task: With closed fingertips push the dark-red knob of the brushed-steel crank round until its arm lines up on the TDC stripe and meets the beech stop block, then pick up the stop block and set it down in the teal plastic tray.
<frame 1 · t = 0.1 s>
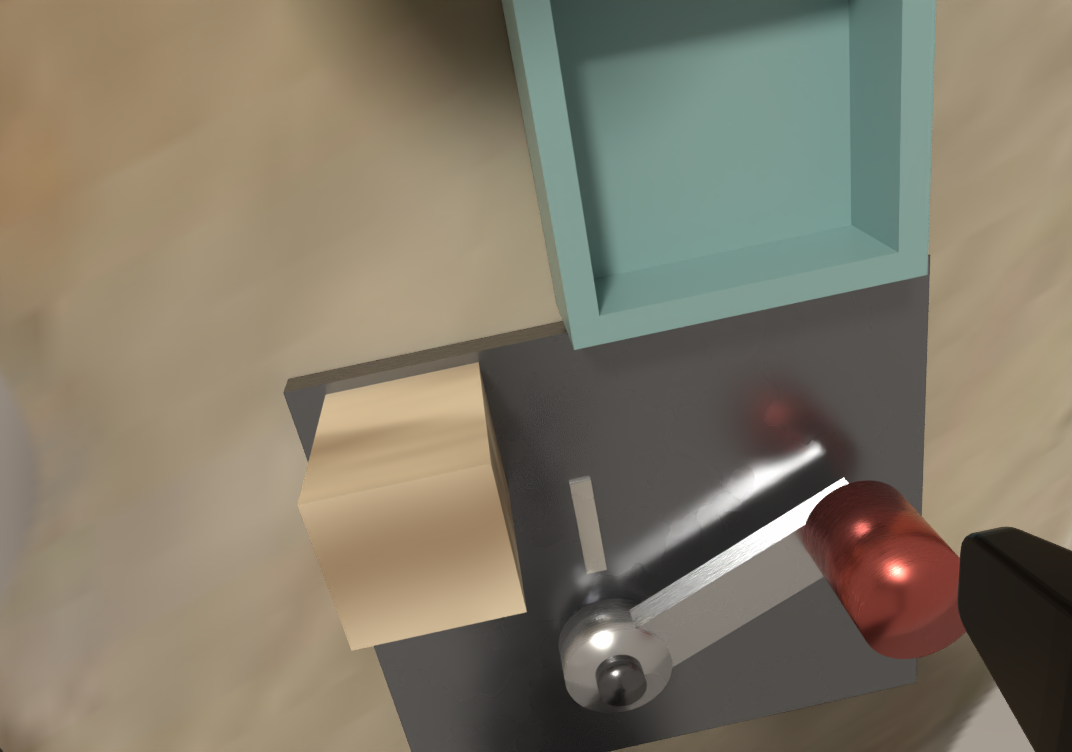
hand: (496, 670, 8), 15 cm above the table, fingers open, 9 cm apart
tray: (697, 108, 20), on the table
bedplate: (639, 542, 26), on the table
stop block: (420, 444, 22), point 1 cm above the table, touching bedplate
crank: (745, 627, 23), point 3 cm above the table, hinge at -65.0°
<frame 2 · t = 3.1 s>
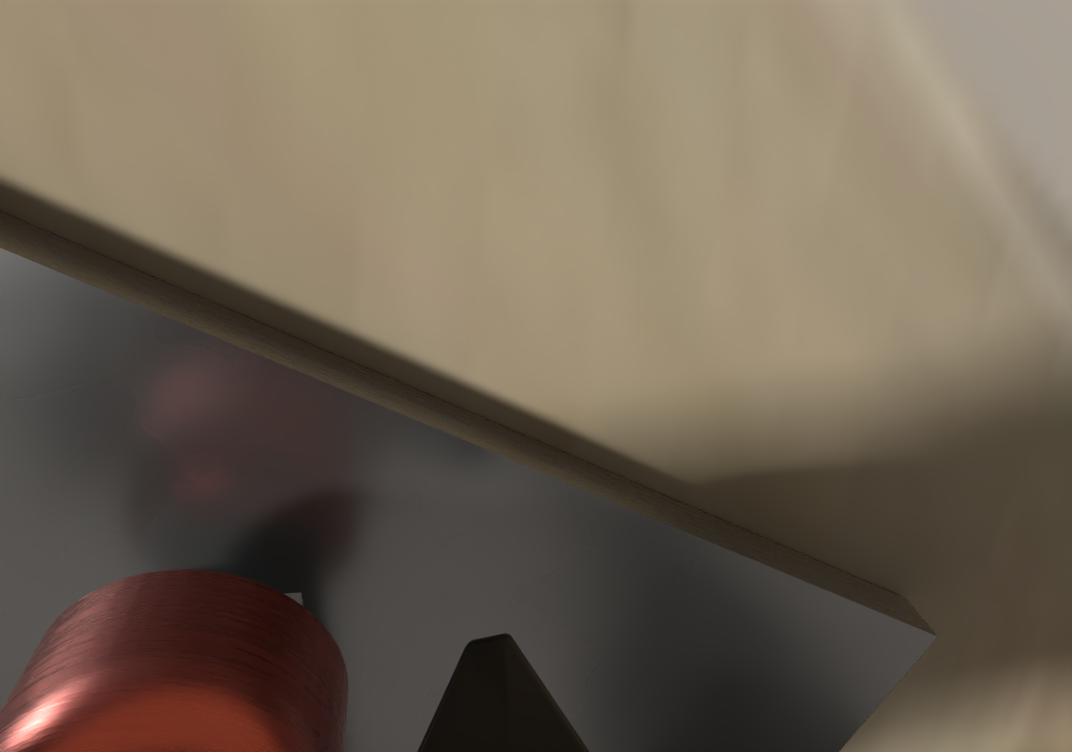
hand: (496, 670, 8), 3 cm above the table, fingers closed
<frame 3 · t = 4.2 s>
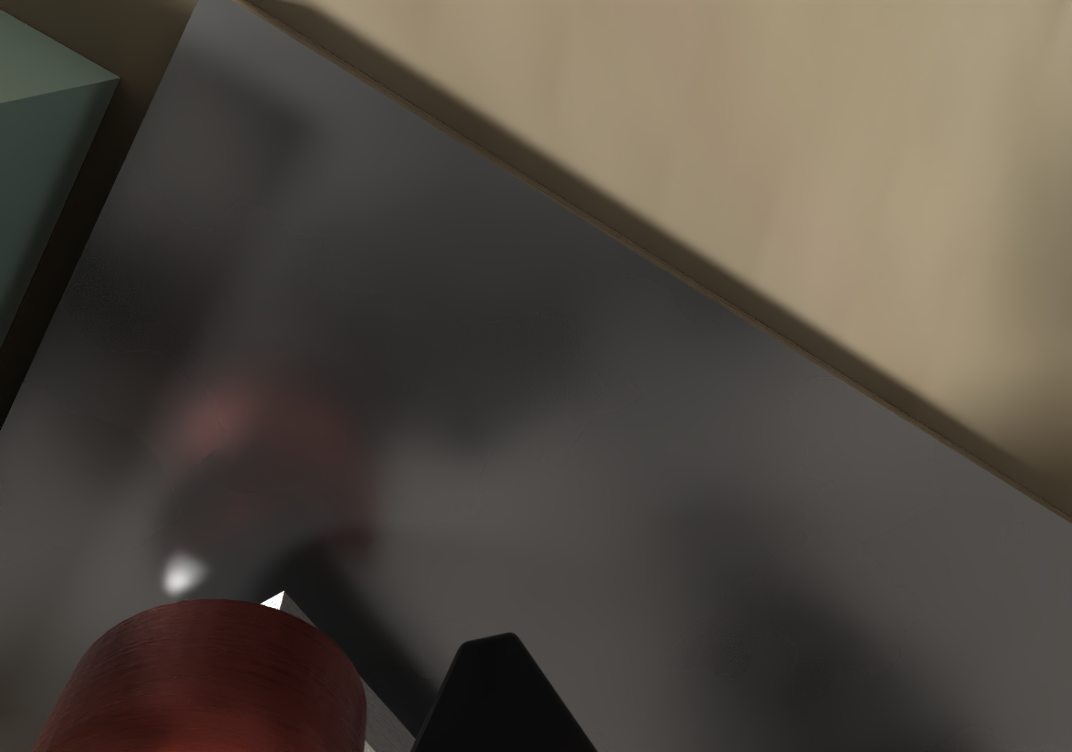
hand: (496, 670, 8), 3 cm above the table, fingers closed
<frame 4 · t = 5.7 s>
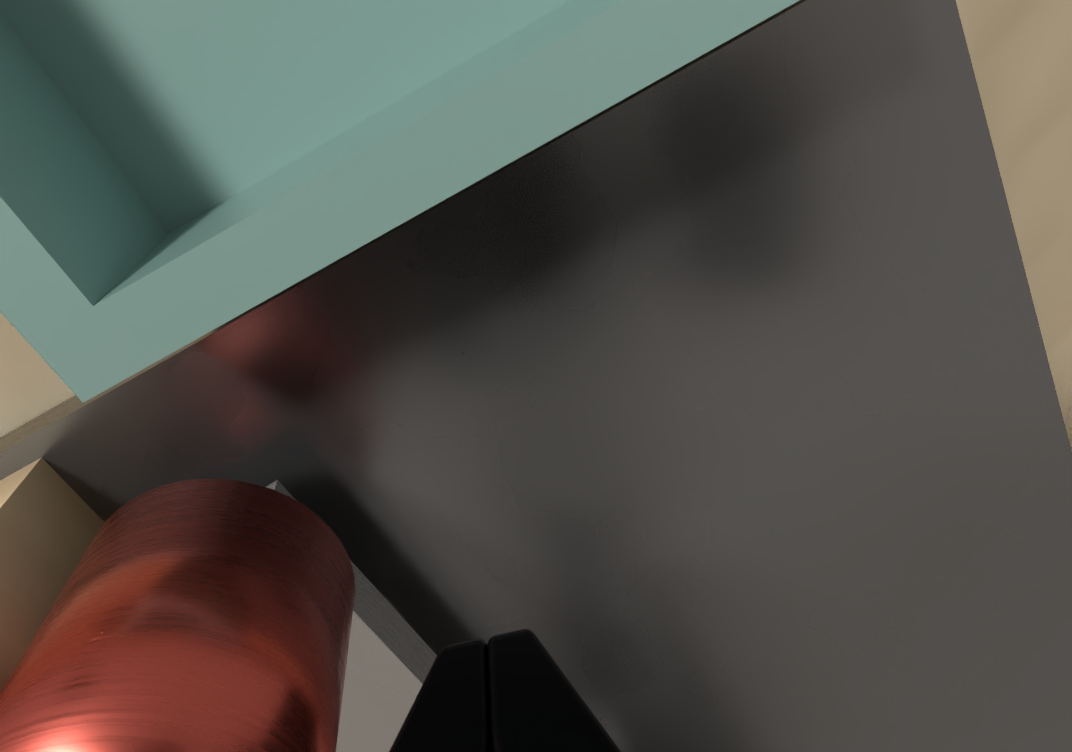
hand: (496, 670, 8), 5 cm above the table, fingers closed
bedplate: (553, 665, 14), on the table
stop block: (26, 631, 11), point 1 cm above the table, touching bedplate
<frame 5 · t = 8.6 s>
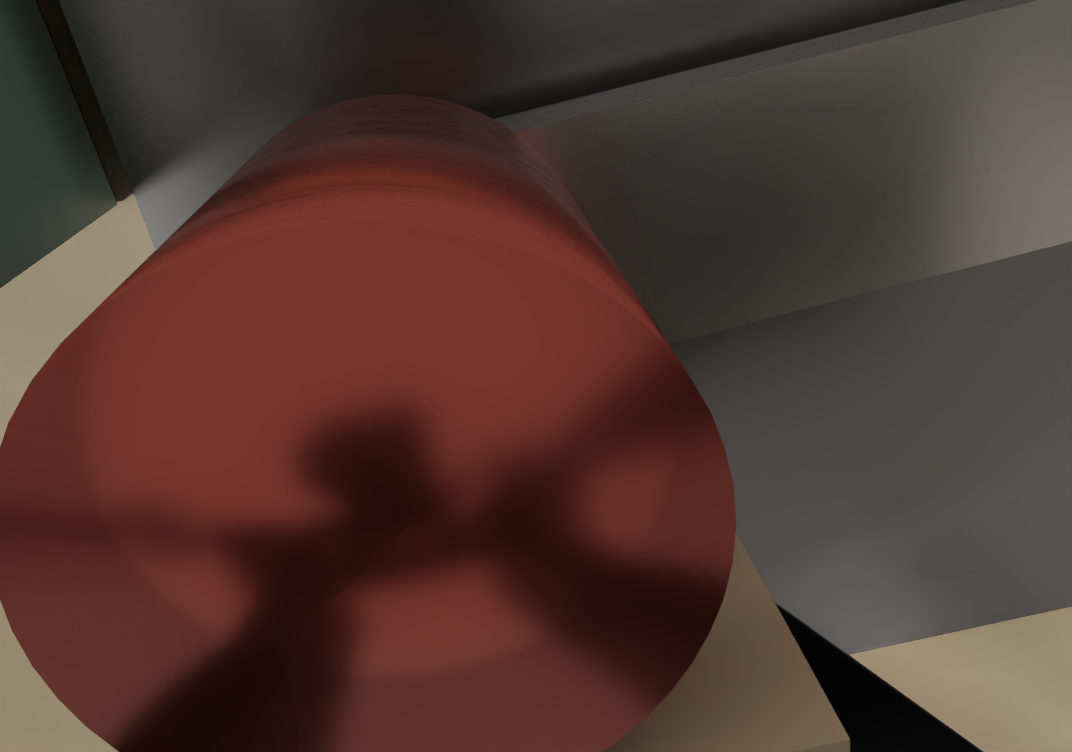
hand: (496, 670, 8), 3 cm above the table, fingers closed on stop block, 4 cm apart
stop block: (483, 539, 10), point 1 cm above the table, touching bedplate, gripper
crank: (984, 200, 6), point 3 cm above the table, hinge at 2.9°
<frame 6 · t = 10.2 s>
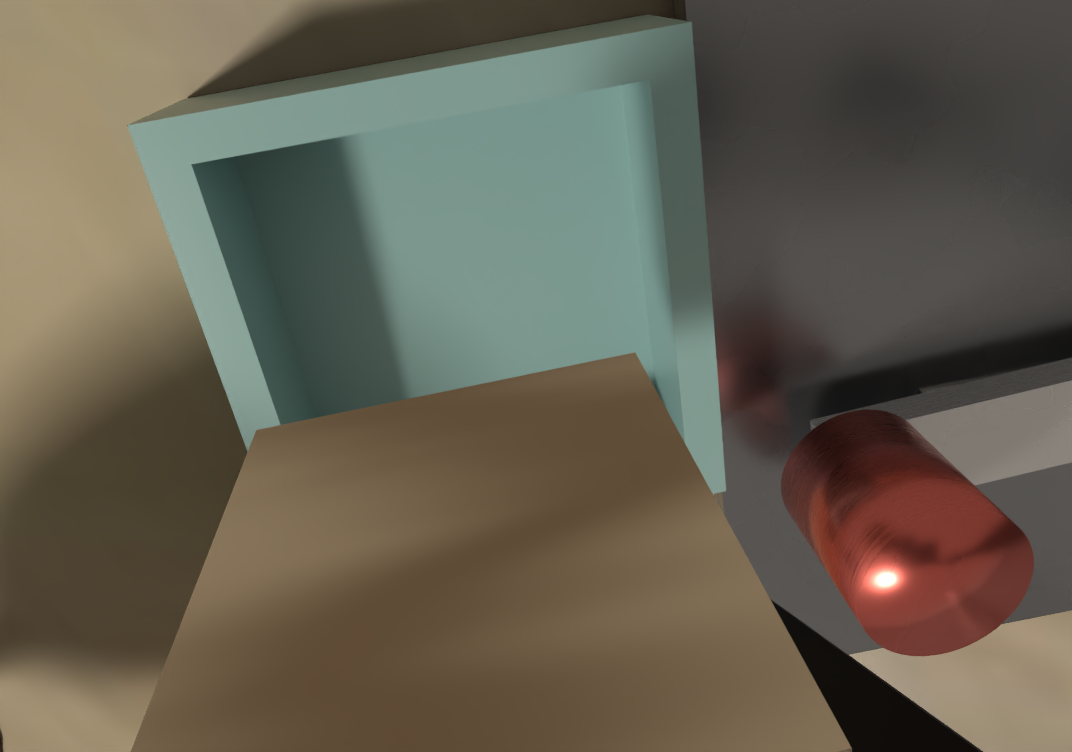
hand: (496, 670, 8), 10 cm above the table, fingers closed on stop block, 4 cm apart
tray: (463, 276, 17), on the table
bedplate: (1046, 299, 18), on the table
stop block: (484, 544, 10), point 8 cm above the table, touching gripper
when the fingers open (4 cm above the table, at t = 11.6 s): stop block drops 1 cm, resting on tray.
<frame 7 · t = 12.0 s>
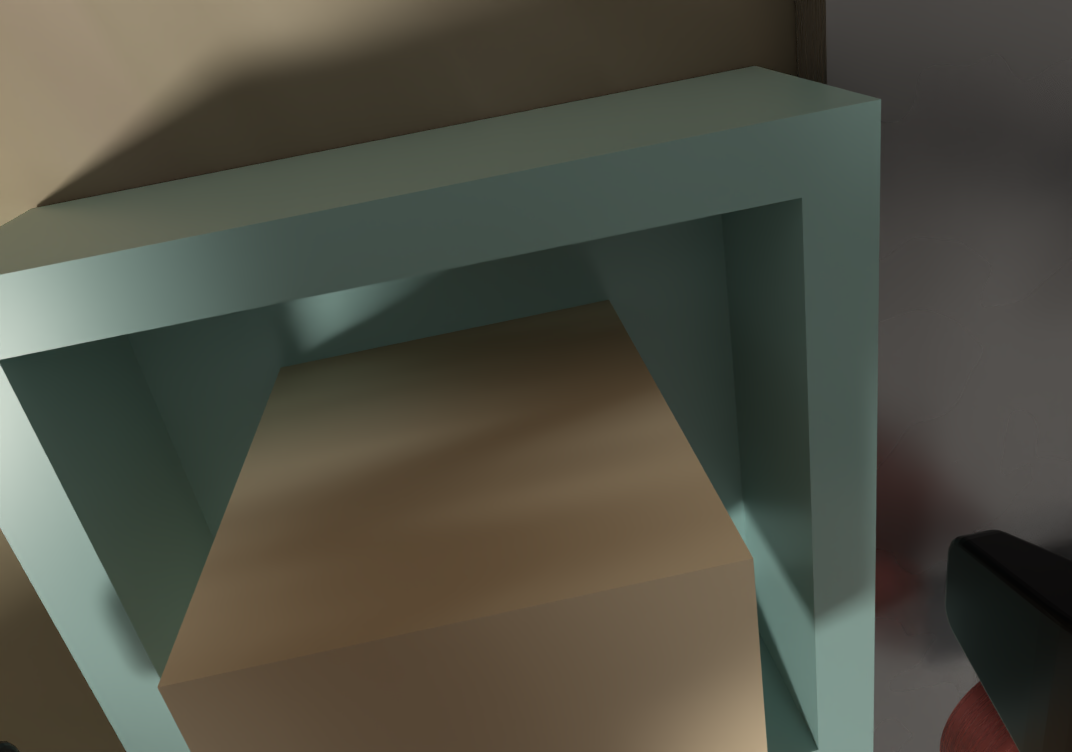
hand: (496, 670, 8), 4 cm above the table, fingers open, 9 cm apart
tray: (472, 446, 11), on the table
stop block: (479, 472, 11), point 1 cm above the table, touching tray
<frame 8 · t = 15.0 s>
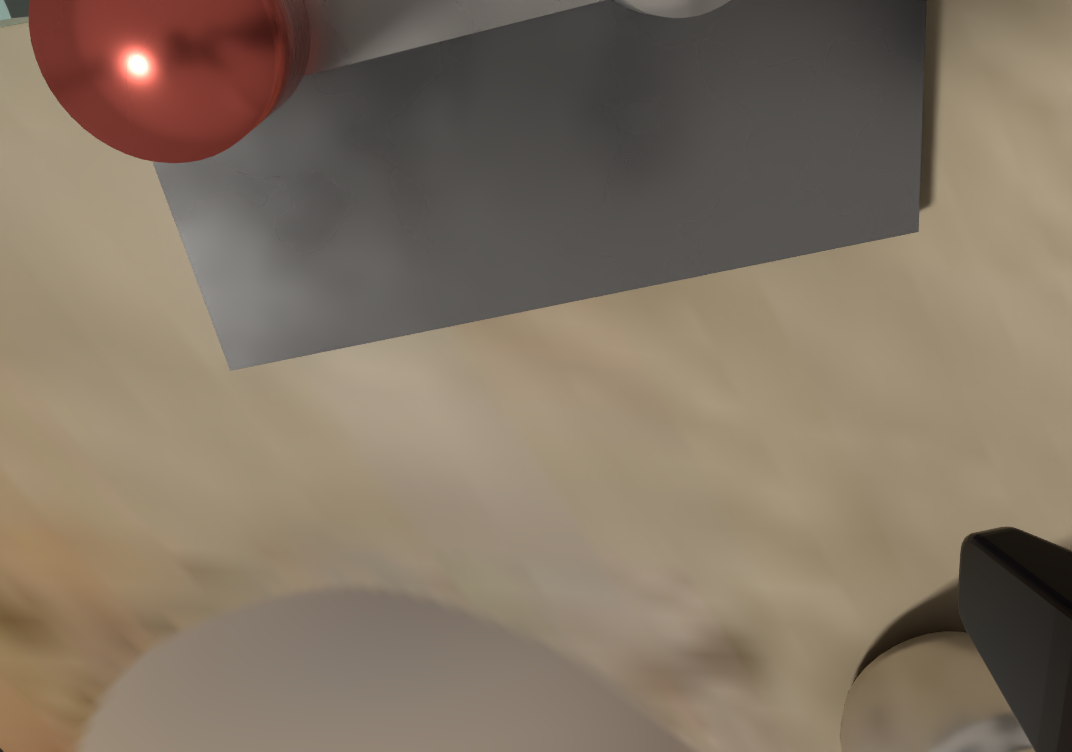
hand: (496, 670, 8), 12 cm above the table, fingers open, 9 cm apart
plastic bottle: (913, 678, 26), on the table
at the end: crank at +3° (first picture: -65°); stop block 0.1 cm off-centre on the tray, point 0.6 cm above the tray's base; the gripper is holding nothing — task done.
